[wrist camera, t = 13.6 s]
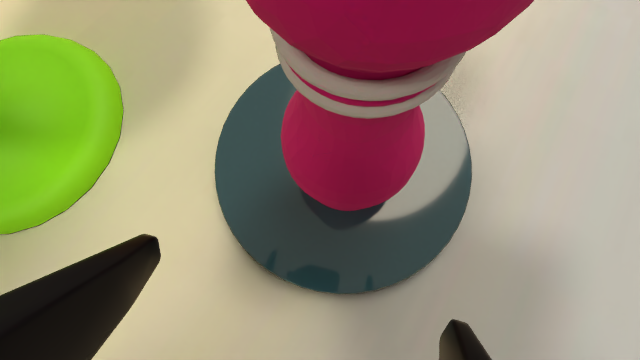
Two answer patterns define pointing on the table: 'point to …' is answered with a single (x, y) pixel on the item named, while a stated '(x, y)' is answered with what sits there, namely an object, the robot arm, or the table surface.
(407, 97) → the pepper mill
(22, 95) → the wineglass
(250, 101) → the plate
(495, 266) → the table surface
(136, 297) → the robot arm
